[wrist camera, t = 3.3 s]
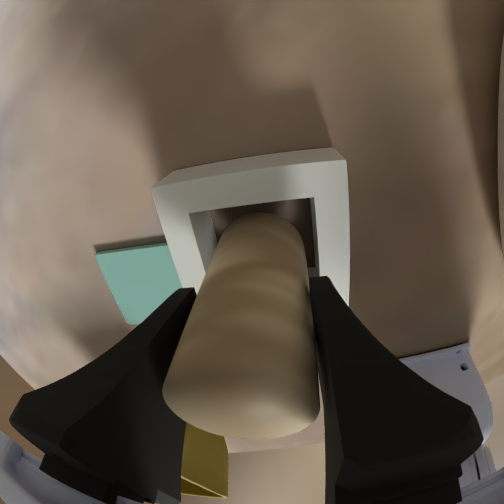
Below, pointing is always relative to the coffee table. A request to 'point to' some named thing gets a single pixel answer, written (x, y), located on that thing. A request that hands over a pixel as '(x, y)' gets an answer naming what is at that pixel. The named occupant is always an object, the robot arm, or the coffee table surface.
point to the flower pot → (204, 464)
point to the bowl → (501, 146)
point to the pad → (139, 278)
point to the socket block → (253, 192)
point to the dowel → (249, 337)
